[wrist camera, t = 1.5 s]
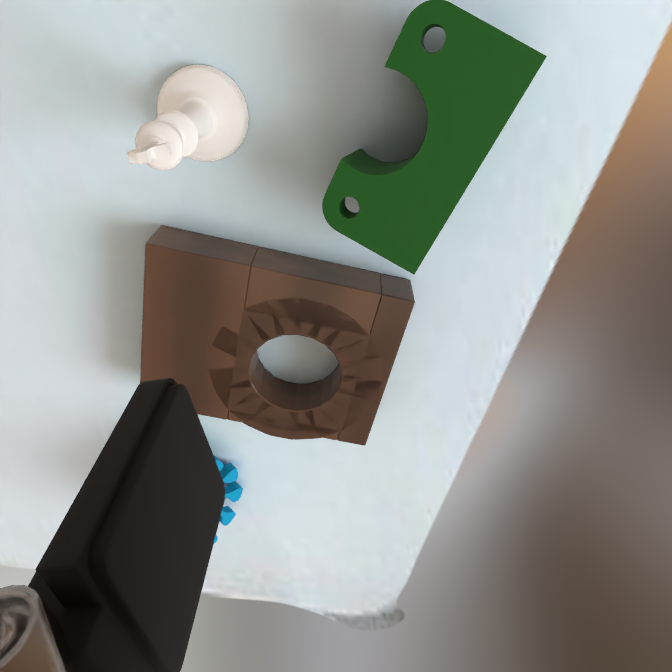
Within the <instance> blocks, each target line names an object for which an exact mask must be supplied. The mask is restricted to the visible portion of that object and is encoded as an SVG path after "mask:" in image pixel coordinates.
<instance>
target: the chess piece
mask: <svg viewBox="0 0 672 672" xmlns="http://www.w3.org/2000/svg"><path fill="white" fill-rule="evenodd" d="M157 114H158V116H157V117H156V118H155V120H154V121H150V122H147V123H145V124H144V125H142V126H141V127H140V128H139V130H138V132H137V134H136V139H135V144H136V150H132V151H129V152H128V153H127V156H128V158H129V160H130V163H131V164H133V163H138V162H139V164H140V165H141V164H145V163H146V164H147V165H149V166H151V167H152V168H155V169H158V170H168V169H171V168H173V167H175V166H176V165H177V164H178V163H179V162H180V160H181V158H185V157H189V158H192V159H195V160H199V161H216V160H219V159H222V158H225V157H227V156H229V155H230V154H232V153H233V152H234V151H236V150H237V149H238V147H239V146H240V145H241V144H242V142H243V140H244V138H245V136H246V133H247V129H248V121H249V116H248V109H247V104H246V101H245V99H244V96H243V94H242V92H241V91H240V89H239V88H238V86H237V85H236V84H235V82H234V81H233V80H232V79H231V78H230V77H229V76H227V75H226V74H225V73H223V72H222V71H220V70H218V69H216V68H213V67H210V66H206V65H189V66H186V67H183V68H181V69H179V70H177V71H176V72H174V73H173V74H172V75H171V76H170V77H169V78H168V79H167V81H166V82H165V83H164V85H163V86H162V88H161V91H160V93H159V97H158V102H157Z"/></svg>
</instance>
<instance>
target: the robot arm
mask: <svg viewBox="0 0 672 672" xmlns="http://www.w3.org/2000/svg"><path fill="white" fill-rule="evenodd" d="M224 499H225V486H224V482H223V479H222V476H221V474H220V471H219V469H218V466H217V464H216V461H215V459H214V456H213V453H212V451H211V448H210V446H209V443H208V441H207V438H206V436H205V433H204V431H203V428H202V425H201V423H200V420H199V418H198V415H197V413H196V410H195V408H194V405H193V403H192V400H191V397H190V395H189V392H188V390H187V388H186V386H185V385H183V384H177V382H176V381H175V380H174V379H172V378H166V379H158V380H150V381H143V382H141V383H140V384H139V385H138V387H137V389H136V391H135V392H134V394H133V396H132V398H131V400H130V401H129V403H128V405H127V407H126V409H125V410H124V412H123V414H122V416H121V418H120V419H119V421H118V423H117V425H116V426H115V428H114V430H113V432H112V434H111V435H110V437H109V439H108V441H107V443H106V444H105V446H104V448H103V450H102V452H101V453H100V455H99V457H98V459H97V460H96V462H95V464H94V466H93V468H92V469H91V471H90V473H89V475H88V477H87V478H86V480H85V482H84V484H83V486H82V487H81V489H80V491H79V493H78V495H77V496H76V498H75V500H74V502H73V503H72V505H71V507H70V509H69V511H68V512H67V514H66V516H65V518H64V520H63V521H62V523H61V525H60V527H59V529H58V530H57V532H56V534H55V536H54V537H53V539H52V541H51V543H50V545H49V546H48V548H47V550H46V552H45V554H44V555H43V557H42V559H41V561H40V563H39V564H38V566H37V568H36V573H35V575H34V577H33V578H32V580H31V582H30V584H29V585H28V587H27V586H25V585H11V586H7V587H4V588H0V672H180V670H181V668H182V665H183V661H184V657H185V653H186V649H187V645H188V641H189V638H190V633H191V629H192V625H193V622H194V618H195V613H196V610H197V606H198V602H199V598H200V594H201V590H202V587H203V583H204V579H205V575H206V571H207V567H208V563H209V559H210V555H211V551H212V547H213V543H214V539H215V535H216V532H217V528H218V524H219V520H220V516H221V512H222V508H223V504H224Z"/></svg>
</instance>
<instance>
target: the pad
mask: <svg viewBox="0 0 672 672" xmlns="http://www.w3.org/2000/svg"><path fill="white" fill-rule="evenodd" d="M414 303H415V301H414V296H413V291H412V286H411V281H410V280H407V279H403V278H398V277H393V276H389V275H384V274H379V273H376V272H372V271H367V270H363V269H358V268H353V267H349V266H344V265H340V264H335V263H331V262H326V261H322V260H317V259H313V258H308V257H304V256H299V255H295V254H290V253H285V252H281V251H276V250H272V249H267V248H263V247H258V246H254V245H249V244H245V243H240V242H235V241H231V240H226V239H222V238H217V237H213V236H208V235H204V234H199V233H195V232H190V231H186V230H181V229H177V228H172V227H168V226H163V225H161V227H160V228H159V229H158V230H157V231H156V232H155V233H154V234H153V236H152V237H151V238H150V239H149V240H148V241H147V242H146V247H145V273H144V299H143V325H142V351H141V377H140V383H141V382H143V381H150V380H158V379H166V378H172V379H174V380H175V381H176V382H177V384H183V385H185V386H186V388H187V390H188V392H189V395H190V397H191V400H192V403H193V405H194V408H195V410H196V413H197V414H200V415H206V416H211V417H216V418H221V419H227V418H228V420H233V421H238V422H243V423H244V424H246V425H248V426H250V427H252V428H254V429H257V430H259V431H261V432H263V433H265V434H269V435H271V436H276V437H282V438H287V439H292V440H293V439H314V438H321V437H322V438H328V439H333V440H338V441H343V442H349V443H354V444H359V445H366V442H367V439H368V436H369V433H370V430H371V427H372V424H373V421H374V419H375V416H376V413H377V410H378V407H379V404H380V401H381V398H382V395H383V393H384V390H385V387H386V384H387V381H388V378H389V375H390V372H391V369H392V367H393V364H394V361H395V358H396V355H397V352H398V349H399V346H400V343H401V341H402V338H403V335H404V332H405V329H406V326H407V323H408V320H409V317H410V315H411V312H412V309H413V306H414ZM281 335H301V336H306V337H311V338H313V339H315V340H317V341H319V342H321V343H323V344H325V345H326V346H327V347H328V348H329V349H330V350H331V351H332V352H333V353H334V354H335V356H336V358H337V360H338V361H339V363H340V364H339V365H338V367H337V368H336V369H335V371H334V372H333V373H332V374H330V375H329V376H328V377H326V378H325V379H323V380H321V381H318V382H315V383H312V384H294V383H289V382H284V381H282V380H280V379H278V378H276V377H274V376H273V375H272V374H271V373H269V372H268V371H267V370H266V369H265V368H264V367H263V365H262V363H261V362H260V360H259V358H258V354H257V349H258V348H259V347H260V346H261V345H263V344H264V343H265V342H266V341H268V340H270V339H273V338H276V337H278V336H281Z"/></svg>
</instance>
